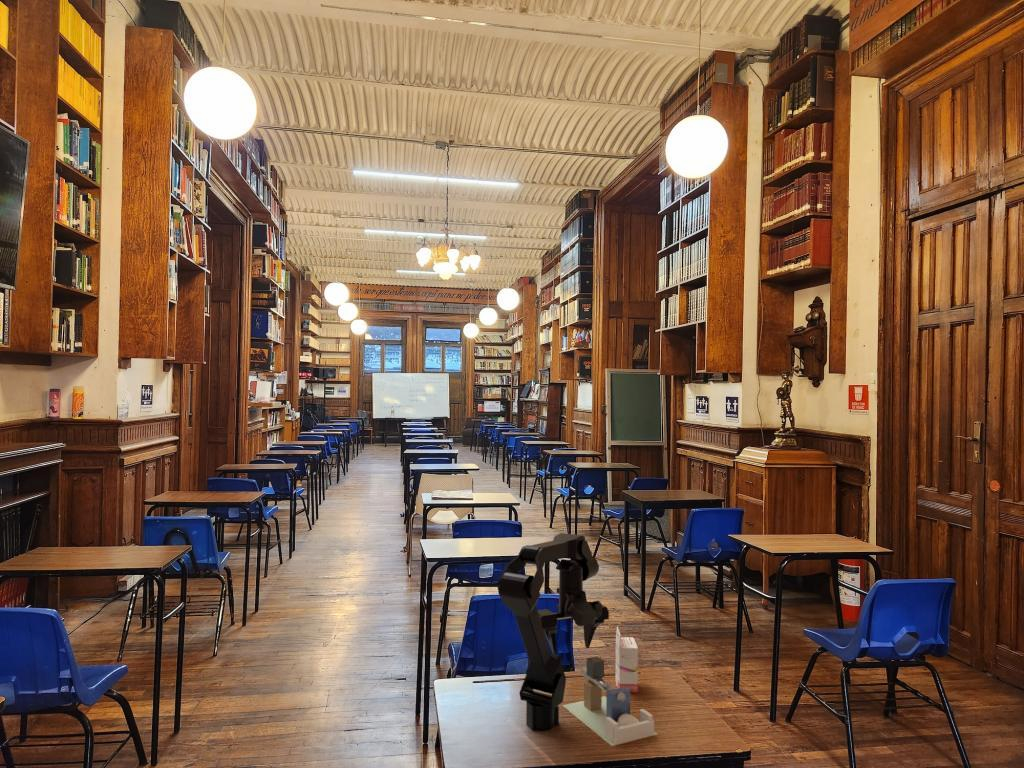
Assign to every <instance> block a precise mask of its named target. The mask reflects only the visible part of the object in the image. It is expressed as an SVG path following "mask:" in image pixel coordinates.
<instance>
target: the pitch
mask: <svg viewBox="0 0 1024 768" xmlns="http://www.w3.org/2000/svg"><path fill="white" fill-rule="evenodd" d="M602 691H603V690H602V689H601V688H599V687H598V686H596V685H595V684H594V683H592V682H591V681H589V680H585V681H583V700H581V701H576V702H572V703H571V702H570V703H567V704H562V707H564V708H565V709H566V710H567V711H568V712H570V713H571V714H572V715H573V716H574V717H576V719H578V720H580V722H582V723H583V724H584V725H585V726H586V727H588V728H589V729H590V730H591V731H593V732H594V733H595V734H596V735H598V736H599V737H600V738H601V739H602V740H604V741H605V742H606V743H607V744H608V745H610V746H611V747H615V746H618V745H619V744H617V745H615V744H614V743H613V742H612V741H610V740H609V739H608V738H607V737H605V718H606V696H605V695H603V696H602V693H603V692H602ZM630 715H631V714H630ZM631 716H632V717H633V718H634V719H635V722H636V723H637V722H639V719H638V718H636V717H635V716H633V715H631ZM658 735H659V734H658V733H657V732H656V731H654V735H653V736H658ZM653 736H652V737H653ZM650 737H651V736H649V737H648V738H650ZM645 738H647V737H645ZM645 738H644V739H645ZM641 739H643V738H641ZM641 739H640V740H641ZM637 740H639V739H637ZM637 740H636V741H637ZM634 741H635V740H633V741H632V742H634ZM629 742H631V741H629ZM629 742H628V743H629ZM626 743H627V742H625V743H624V744H626ZM622 744H623V743H621V744H620V745H622Z"/></svg>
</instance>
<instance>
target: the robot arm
mask: <svg viewBox="0 0 1024 768" xmlns="http://www.w3.org/2000/svg"><path fill="white" fill-rule="evenodd" d="M557 560H560V561H559V563H558V564H557V565H556V567H555V570H557V571H559V572H558V573H559V575H558V577H559V579H558V580H559V581H558V583H559V585H558V587H557V588H556V593H558V596H559V597H558V599H559V600H558V601H559V602H558V603H559V604H556V610H557V611H558V612H557V611H556V612H553V611H551V610H549V609H548V608H545V609H538V608H537V604H538V601H539V599H540V596H541V592H540V591H541V589H542V586H543V584H544V583H545V574H544V570H543V568H544V566H545V564H546V563H550V562H552V561H553V562H554V561H557ZM526 565H533V566H536V572H535V574H534V575H531V574H524V573H518V572H520V571H521V570H522V569H523V568H524V567H525V566H526ZM599 570H600V565H599V563H598V560H597V559H596V557H594V556H593V553H592V550H591V549H590V546H589V543H588V541H587V540H586V536H585V535H581V534H574V533H565V532H560V533H558V534H556V535H555V536H553V540H549V541H545V542H541V543H536V544H531V545H529V544H527V545H523V546H522V547H521V548H520V551H519V552H518V554H517V555H516V557H514V558H513V559H511V561H509V562H508V563H506V565H505V567H504V569H503V570H502V573H501V575H500V577H499V579H498V581H497V591H498V596H499V597H500V599H501V602H502V603H503V605H504V606H505V607H506V608H507V609H508V610H509V611H510V612H511V613H513V615H514V617H515V620H516V623H517V627H518V629H519V633H520V637H521V639H522V643H523V646H524V649H525V652H526V656H527V657H528V662H529V663H528V665H527V668H526V670H525V677H524V679H523V683H522V684H521V686H520V687H521V688H520V689H519V699H520V700H521V701H524V702H526V717H525V718H526V719H525V721H526V723H525V724H526V726H527V727H528V728H529V729H530V730H531V731H533V732H535V731H537V732H546V731H547V732H548V731H550V730H552V729H554V727H556V726H558V725H559V724H560V707H559V706H560V705H561V704H562V703H563V702H564V698H565V696H564V695H565V690H566V683H567V681H566V680H567V678H566V674H565V669H566V668H565V667H564V664H563V660H562V657H561V655H560V654H556V653H557V632H558V630H559V628H558V627H557V625H558V622H559V621H565V620H573V621H574V623H575V625H577V626H578V627H583V638H584V639H583V641H584V647H585V648H586V649H590V646H591V644H592V640H593V637H594V635H595V632H596V630H597V628H598V627H599V626H600V625H601V624H604V623H605V620H609V619H610V610H609V608H608V607H607V606H605V605H603V603H602V602H601V601H600V600H594V601H588V600H587V599H588V598H587V594H586V591H585V590H584V589H583V588H584V583H583V582H585V581H587V580H589V579H592V578H593V577H595V576H596V575H597V574H598V573H599ZM548 644H549V645H548ZM549 648H550V649H549ZM550 650H551V652H550ZM546 693H547V694H546Z"/></svg>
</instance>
